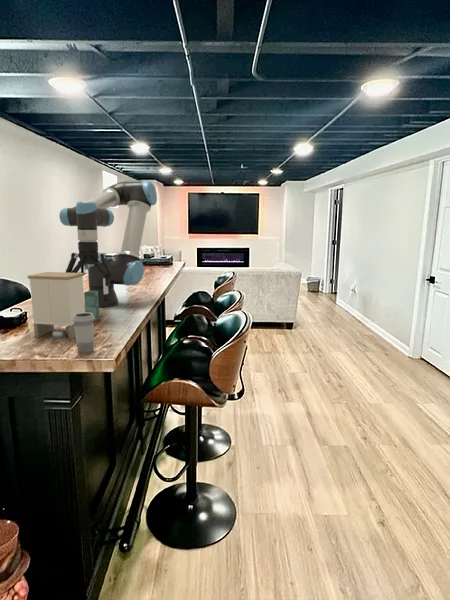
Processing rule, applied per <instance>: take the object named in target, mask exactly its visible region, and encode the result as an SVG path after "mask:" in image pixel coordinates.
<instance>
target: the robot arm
mask: <svg viewBox="0 0 450 600" xmlns="http://www.w3.org/2000/svg"><path fill="white" fill-rule="evenodd" d="M157 201H158V195H157V190H156V187H155V185H154V184H153V182H151V181H149V180H148V181H147V180H146V181H145V180H142V181H138V180H137V181H135V180H134V181H120V182H118V183H115V184H112V185H111V186H108V187H106V188H104V189H102V192H101V193H99V194H97V195H94V196H93V197H91V198H90V199H87V200H86V201H77V202H76V205H75V206H73V207H66V208H62V209H60V212H59V215H58V216H59V220H60V222H61V224H62V225H63V226H69V227H76V228H77V240H78V242H77V248H78V253H77V252H71V254H70V259H69V262H68V265H67V266H66V270H65V273H79V271H80V270H81V268H82V267H83V266H84V265H87V274H88V275H87V276H88V287H89V288H88V291H98V304H99V308H107V307H114V306H117V305H119V298H118V295H117V293H116V291H115V285H122V286H123V285H124V286H137V285H138V284H139V283H141V281H142V279H143V278H144V273H145V269H144V268H145V267H144V264H143V262H142V259H141V257H140V256H139V255H140V251H141V245H142V241H143V234H144V228H145V223H146V217H147V213H149V212H150V211H151V208H152V207H151V206H155V205H156V204H157ZM118 206H127V208H129V209H128V214H127V220H126V223H125V229H124V233H123V234H124V235H123V240H122V245H121V248H120V249H121V250H120V252H119V253H117V254H116V258H115V259H114V258H113V257H112V256H108V257H107V254H106V253H99V243H98V242H97V241H98V237H99V236H98V227H103V228H105V227H110V226H111V225H113V223H114V221H115V215H114V213H113V211H112V210H110V209H109V208H115V207H118ZM78 259H79V261H78V262H77V260H78ZM76 262H77V264H76ZM75 264H76V265H75ZM74 266H75V267H74Z"/></svg>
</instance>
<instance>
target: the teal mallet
mask: <svg viewBox="0 0 450 600" xmlns="http://www.w3.org/2000/svg"><path fill="white" fill-rule="evenodd" d="M83 292H84V308H85V312H88V313H93V316H94V317H95V319H94V320H93V322H96V321H98V320H100V307H99V304H98V291H89V290H87V291H83ZM65 329H67V332H68V325H65Z"/></svg>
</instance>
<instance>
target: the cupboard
mask: <svg viewBox="0 0 450 600" xmlns="http://www.w3.org/2000/svg"><path fill="white" fill-rule="evenodd" d="M65 272H66V271H65ZM65 272H61V271H56V272H55V271H44V272H39V273H35V274H30V275H27V279H29V286H30V296H31V297H30V298H31V308H32V319H33V320H32V321H33V331H34V338H40V337H42V336H45V335H46V334H48V333H52V330H54V329H55V326H68V331H67V337H68V340H73V339H76V336H75V328H74V321H73V320H72V319H73V317H74V314H77V313H84V312H85V300H84V292H85V291H84V282H83V281H84V280H83V279H84V276H85V273H84V272H77V273H65Z"/></svg>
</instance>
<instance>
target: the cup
mask: <svg viewBox="0 0 450 600" xmlns="http://www.w3.org/2000/svg"><path fill="white" fill-rule="evenodd" d="M94 319H95V317H94V316H93V313H88V312H84V313H77V314H74V317H73V319H72V320H73V321H74V328H75V336H76V337H75V341H76V346H77V353H78V354H85V355H86V354H90V353H91V354H92V353H93V352H94V340H95V323H94V321H93V320H94Z"/></svg>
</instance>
